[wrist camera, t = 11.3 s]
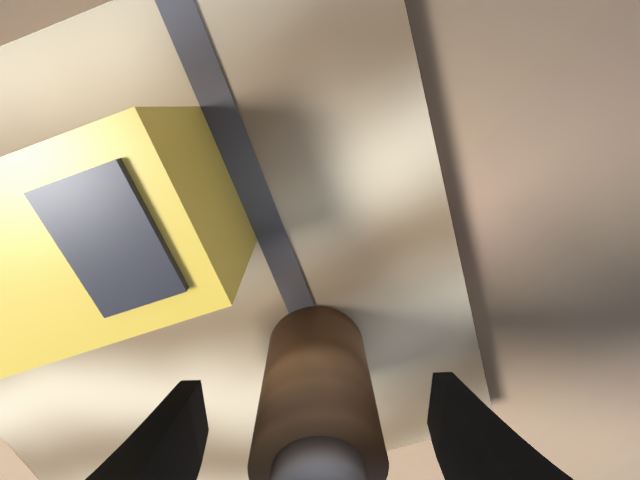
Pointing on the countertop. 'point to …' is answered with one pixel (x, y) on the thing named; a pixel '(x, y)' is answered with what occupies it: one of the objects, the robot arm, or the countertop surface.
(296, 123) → the cream striped towel
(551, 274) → the countertop surface
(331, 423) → the bottle
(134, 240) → the block
